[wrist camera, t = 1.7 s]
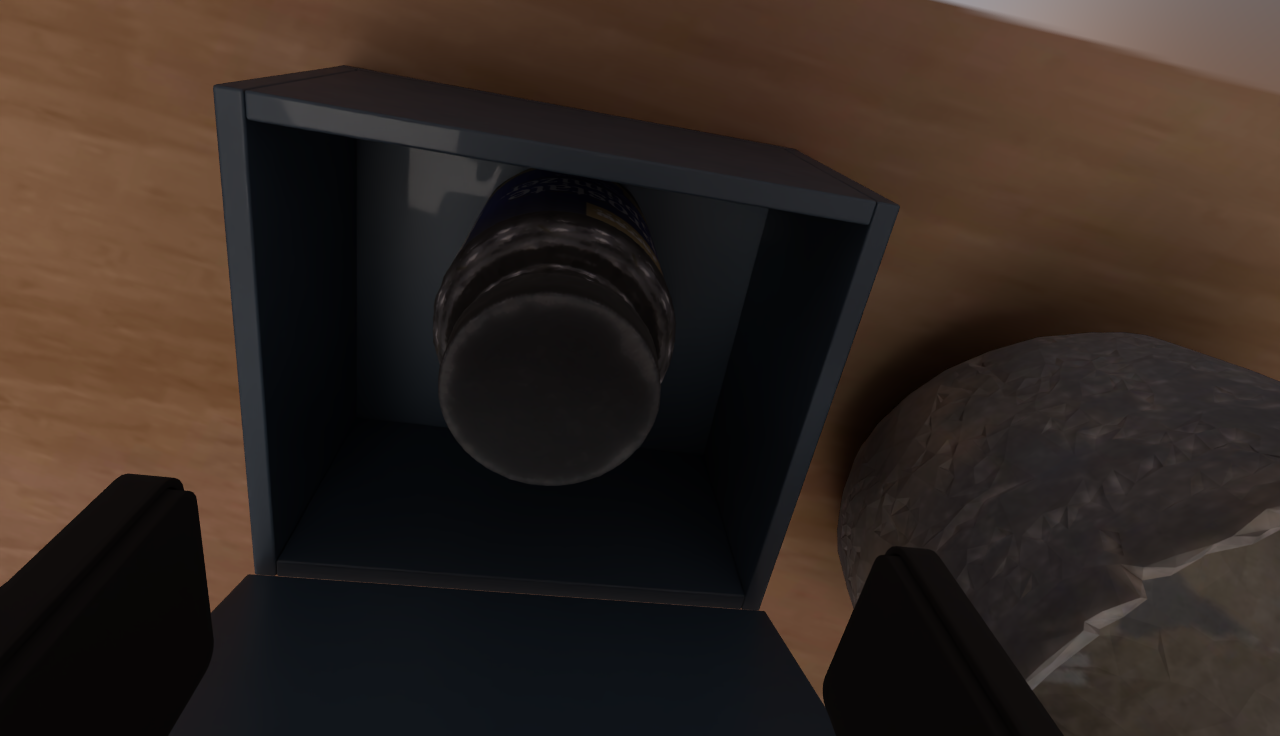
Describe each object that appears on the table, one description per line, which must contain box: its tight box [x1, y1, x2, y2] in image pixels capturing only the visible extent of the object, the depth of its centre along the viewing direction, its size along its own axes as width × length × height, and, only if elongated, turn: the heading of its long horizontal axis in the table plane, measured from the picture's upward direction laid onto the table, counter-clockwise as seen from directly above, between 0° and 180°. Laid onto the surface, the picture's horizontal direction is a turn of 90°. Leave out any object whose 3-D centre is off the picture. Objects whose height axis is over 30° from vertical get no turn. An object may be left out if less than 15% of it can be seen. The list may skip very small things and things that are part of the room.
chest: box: [213, 65, 900, 610], centre depth 21 cm, size 13×15×9 cm
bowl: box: [837, 332, 1280, 736], centre depth 23 cm, size 18×18×15 cm
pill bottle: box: [433, 168, 676, 486], centre depth 19 cm, size 6×6×11 cm
